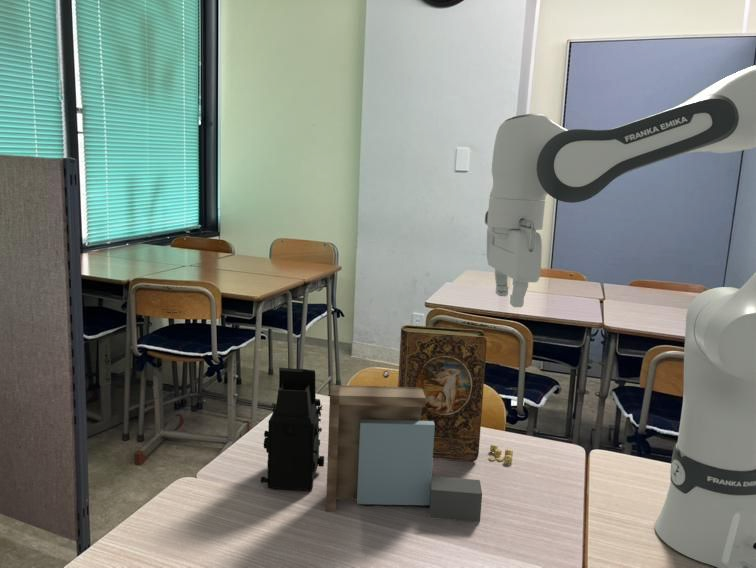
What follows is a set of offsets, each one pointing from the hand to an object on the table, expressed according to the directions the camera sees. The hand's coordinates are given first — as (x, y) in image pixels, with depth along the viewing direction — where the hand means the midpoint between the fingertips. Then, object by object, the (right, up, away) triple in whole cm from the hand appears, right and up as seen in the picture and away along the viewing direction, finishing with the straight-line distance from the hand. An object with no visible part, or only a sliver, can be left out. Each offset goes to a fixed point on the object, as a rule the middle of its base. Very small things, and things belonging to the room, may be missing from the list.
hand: (508, 300), depth 100 cm
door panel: (-19, -34, 0) cm, 39 cm away
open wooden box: (-23, -34, -1) cm, 41 cm away
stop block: (-9, -35, -2) cm, 36 cm away
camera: (-37, -32, +9) cm, 49 cm away
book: (-10, -31, +20) cm, 38 cm away
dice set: (+3, -32, +19) cm, 38 cm away
